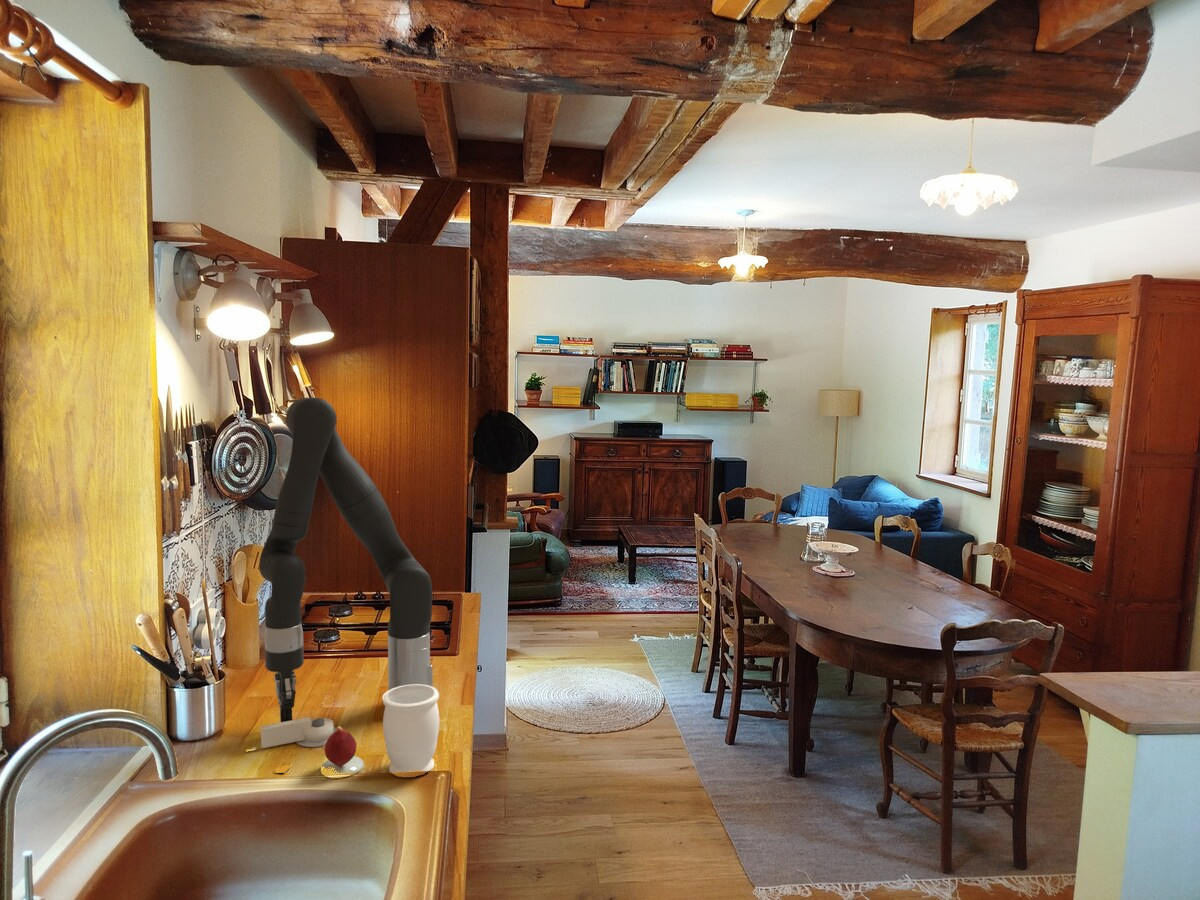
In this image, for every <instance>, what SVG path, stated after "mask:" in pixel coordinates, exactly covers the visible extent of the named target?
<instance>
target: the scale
mask: <svg viewBox="0 0 1200 900" xmlns="http://www.w3.org/2000/svg"><path fill="white" fill-rule="evenodd" d="M336 730H337V727H335V726H334V732H336ZM326 742H327V740H326V741H322V742H307V741H305V740H302V741H297V742H295V743H296V744H297V745H298V746H300V747H303V748H308V747H310V748H309V749H312V748H311V747H313V748H314V747H315V748H322V747H325V744H326ZM251 748H252V749H257V747H251ZM315 748H314V749H315ZM246 749H247V748H246ZM246 749H244V751H245V750H246ZM252 749H251V750H252Z"/></svg>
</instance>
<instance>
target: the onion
mask: <svg viewBox="0 0 1200 900" xmlns="http://www.w3.org/2000/svg"><path fill="white" fill-rule="evenodd" d="M336 728H337V730H336V732H334V733H333V734H332V735H331V736H330V737H329V738H328V740H327V742H326V744H325V746H324V755H325V758H326V759H327V761H328V760H329V761H330V762H332V763H333V764H335V765H336V766H338V767H341V766H343V765H345V764H346V763H348V762H349V761H350V760H351V759H352V758H353V756H355V754H356V752H357V749H358V748H357V742H356V739H355V737H354V736H353V735H352V734H351V733H350V732H349V731H347V730H345V729H343V728H342V726H339V725H338V726H337V727H336Z"/></svg>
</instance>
